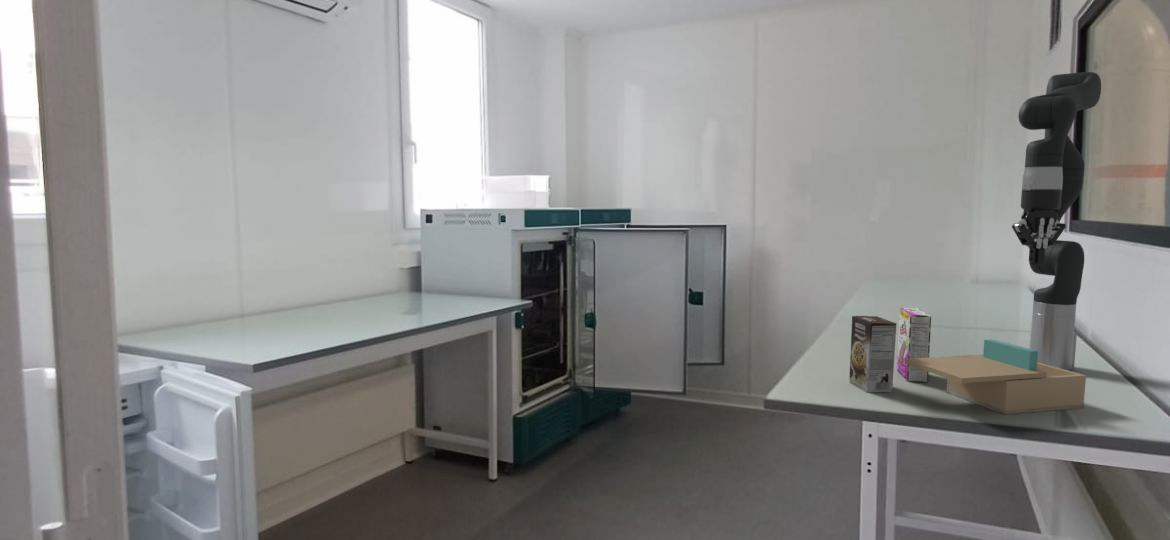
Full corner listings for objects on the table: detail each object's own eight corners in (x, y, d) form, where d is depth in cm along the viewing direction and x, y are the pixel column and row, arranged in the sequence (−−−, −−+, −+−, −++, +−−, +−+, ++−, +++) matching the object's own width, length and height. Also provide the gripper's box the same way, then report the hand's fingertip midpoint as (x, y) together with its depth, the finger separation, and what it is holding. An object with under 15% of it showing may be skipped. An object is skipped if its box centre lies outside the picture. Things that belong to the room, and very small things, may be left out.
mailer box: (1019, 387, 160) (1021, 358, 159) (1083, 407, 144) (1086, 375, 144) (946, 392, 155) (948, 362, 154) (1004, 414, 140) (1007, 380, 139)
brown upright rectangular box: (847, 381, 164) (850, 315, 162) (873, 381, 165) (876, 315, 163) (866, 392, 155) (870, 322, 153) (893, 392, 155) (897, 322, 154)
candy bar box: (895, 370, 175) (898, 307, 173) (916, 371, 174) (919, 307, 172) (906, 381, 164) (910, 314, 163) (928, 383, 163) (932, 315, 162)
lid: (982, 358, 157) (983, 337, 156) (1046, 377, 141) (1048, 353, 140) (904, 363, 152) (905, 341, 152) (961, 383, 136) (963, 358, 136)
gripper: (1050, 188, 158) (1045, 262, 160) (1003, 187, 155) (998, 263, 157) (1081, 187, 151) (1074, 266, 153) (1032, 187, 148) (1026, 267, 150)
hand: (1035, 264), depth 155 cm, fingers closed
